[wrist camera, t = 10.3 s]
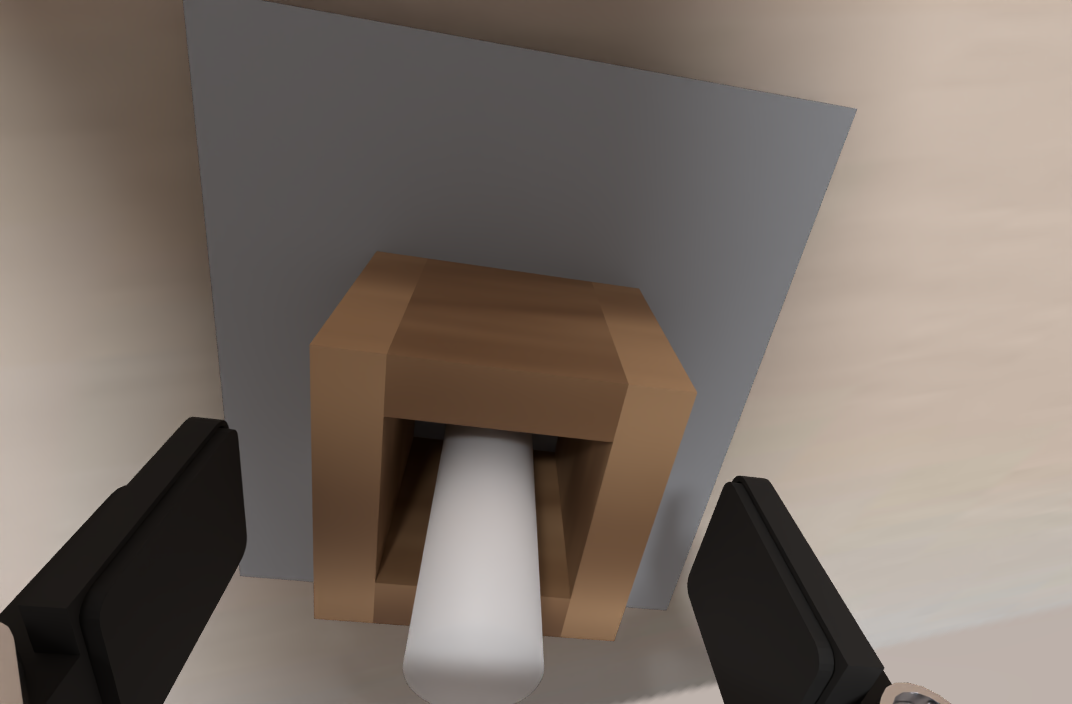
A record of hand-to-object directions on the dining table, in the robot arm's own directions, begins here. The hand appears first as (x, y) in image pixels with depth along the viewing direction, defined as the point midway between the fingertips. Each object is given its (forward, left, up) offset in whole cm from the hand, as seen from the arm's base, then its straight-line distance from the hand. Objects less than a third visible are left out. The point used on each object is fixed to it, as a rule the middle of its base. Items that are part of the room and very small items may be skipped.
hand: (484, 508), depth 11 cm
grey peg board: (0, 0, -6) cm, 6 cm away
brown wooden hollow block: (0, 0, -5) cm, 5 cm away
